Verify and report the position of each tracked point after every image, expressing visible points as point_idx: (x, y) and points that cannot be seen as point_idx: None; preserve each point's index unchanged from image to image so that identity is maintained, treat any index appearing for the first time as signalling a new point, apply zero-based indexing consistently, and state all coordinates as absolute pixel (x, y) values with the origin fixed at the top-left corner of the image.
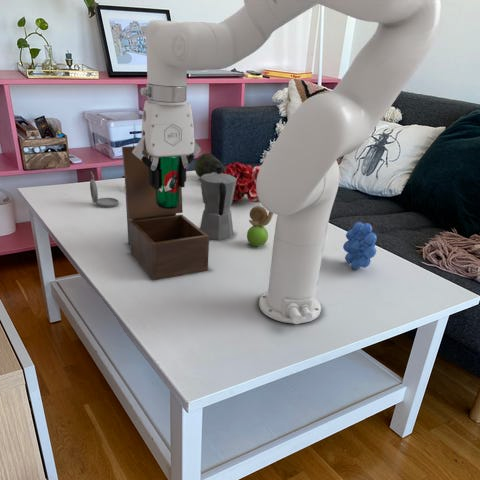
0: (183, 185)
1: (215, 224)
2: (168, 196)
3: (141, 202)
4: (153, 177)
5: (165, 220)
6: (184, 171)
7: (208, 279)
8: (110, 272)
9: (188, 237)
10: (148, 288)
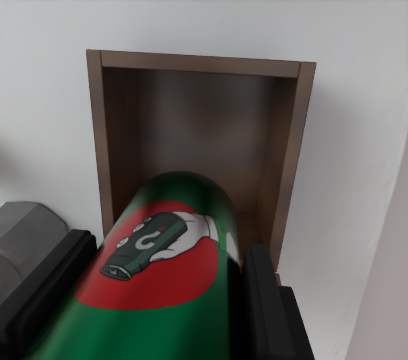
0: (76, 233)
1: (21, 232)
2: (198, 197)
3: None
4: (287, 321)
5: None
6: (2, 305)
7: (150, 2)
8: (350, 151)
9: (164, 69)
10: (319, 25)
